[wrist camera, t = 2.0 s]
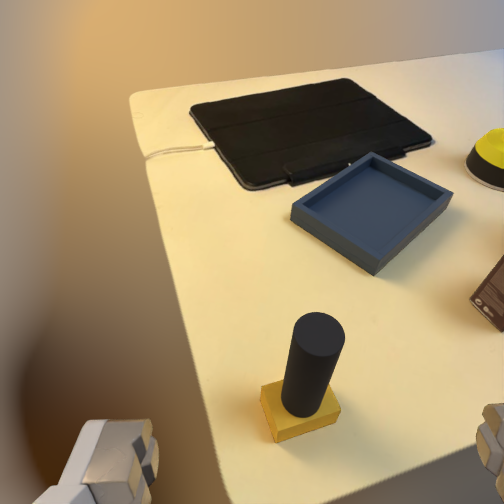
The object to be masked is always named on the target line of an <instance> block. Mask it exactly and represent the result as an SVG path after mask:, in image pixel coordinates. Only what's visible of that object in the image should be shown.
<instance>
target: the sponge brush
mask: <svg viewBox="0 0 504 504" xmlns="http://www.w3.org/2000/svg"><path fill="white" fill-rule="evenodd" d="M344 342H345V333H344V330H343V328H342V326H341V324H340V323H339V322H338V321H337V320H336V319H335V318H333V317H332V316H330V315H328V314H325V313H320V312H312V313H308V314H305V315H303V316H302V317H300V318H299V319H298V320H297V322H296V323H295V326H294V330H293V335H292V340H291V345H290V350H289V355H288V361H287V366H286V371H285V376H284V380H281V381H277V382H274V383H271V384H268V385H264V386H262V388H261V397H260V401H261V404H262V407H263V409H264V412H265V415H266V418H267V421H268V424H269V426H270V429H271V432H272V435H273V438H274V441H275V443H278V442H281V441H283V440H286V439H289V438H292V437H295V436H298V435H301V434H304V433H307V432H309V431H312V430H315V429H318V428H321V427H324V426H327V425H330V424H333V423H335V422H336V420H337V418H338V416H339V414H340V412H341V408H340V406H339V404H338V402H337V400H336V398H335V395H334V393H333V391H332V389H331V387H330V385H329V382H330V379H331V377H332V374H333V371H334V369H335V366H336V363H337V361H338V358H339V356H340V353H341V350H342V348H343V345H344Z"/></svg>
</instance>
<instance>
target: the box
mask: <svg viewBox="0 0 504 504" xmlns="http://www.w3.org/2000/svg"><path fill="white" fill-rule="evenodd" d="M469 300H470V301H471V302H472V304H473V306H474V307H476V308H477V309H478V310H479V311H480V312H481V313H482V315H484V316H485V317H486V318H487V319H488V320H489V321H490V322H491V323H492V324H493V325H494V326H495V327H496V328H497V329H499V330H500V331H501V332H503V331H504V255H503V256H502V258H501V259H500V260H499V261H498V263H497V264H496V265H495V267H494V268H493V269H492V271H491V272H490V273H489V274H488V275H487V277H486V278H485V279H484V281H483V282H482V283H481V284H480V286H479V287H478V288H477V290H476V291H475V292H474V294H473V295H472V296H471V297H470V299H469Z"/></svg>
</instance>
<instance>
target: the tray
mask: <svg viewBox="0 0 504 504" xmlns="http://www.w3.org/2000/svg"><path fill="white" fill-rule="evenodd" d="M453 194H454V193H453V192H451V191H449V190H447V189H445V188H443V187H441V186H439V185H437V184H435V183H433V182H431V181H429V180H427V179H425V178H423V177H421V176H419V175H417V174H415V173H413V172H411V171H409V170H407V169H405V168H403V167H401V166H399V165H397V164H395V163H393V162H391V161H389V160H387V159H385V158H383V157H381V156H379V155H377V154H375V153H373V152H370V153H368V154H367V155H366V156H364V157H363V158H361V159H359V160H358V161H356V162H355V163H353V164H352V165H350V166H349V167H347V168H346V169H344V170H343V171H341V172H340V173H338V174H337V175H335V176H334V177H332V178H331V179H329V180H328V181H326V182H325V183H323V184H322V185H320V186H319V187H317V188H316V189H314V190H313V191H311V192H310V193H308V194H306V195H305V196H303V197H302V198H300V199H299V200H297V201H296V202H294V203H293V204H292V210H291V217H290V220H291V221H292V222H294V223H295V224H297V225H298V226H300V227H301V228H303V229H304V230H306V231H307V232H309V233H310V234H312V235H313V236H315V237H316V238H318V239H319V240H321V241H322V242H324V243H325V244H327V245H328V246H330V247H331V248H333V249H334V250H336V251H337V252H339V253H340V254H342V255H343V256H344V257H346V258H347V259H349V260H350V261H352V262H353V263H355V264H356V265H358V266H359V267H361V268H362V269H364V270H365V271H367V272H368V273H370V274H371V275H373V276H374V275H376V274H377V273H378V272H379V271H380V270H381V269H382V268H383V267H384V266H385V265H386V264H387V263H388V262H389V261H391V260H392V259H393V258H394V257H395V256H396V255H397V254H398V253H399V252H400V251H401V250H402V249H403V248H405V247H406V246H407V245H408V244H409V243H410V242H411V241H412V240H413V239H414V238H415V237H416V236H417V235H418V234H420V233H421V232H422V231H423V230H424V229H425V228H426V227H427V226H428V225H429V224H430V223H431V222H432V221H433V220H435V219H436V218H437V217H438V216H439V215H440V214H441V213H442V212H443V211H444V210H445V209H446V208H447V206H448V204H449V202H450V200H451V198H452V196H453Z"/></svg>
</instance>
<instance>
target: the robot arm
mask: <svg viewBox="0 0 504 504" xmlns="http://www.w3.org/2000/svg"><path fill="white" fill-rule="evenodd" d="M482 415H483V417H484V419H485V422H484V423H482V424H481V425H480V426H479V427H478V429H477V433H476V443H477V449H478V452H479V455H480V458H481V460H482V462H483V464H484V466H485V468H486V469H487V470H489V471H490V472H491V473H492V474H494V475H495V476H496V477H497V481H496V486H495V488H496V489H497V491H498V493H499V495H500V497H501V499H502V501H503V503H504V403H499V404H488V405H487V406H485V407H484V410H483V413H482ZM152 428H153V427H152V424H151V421H150V419H110V420H109V419H108V420H88V421H87V422H86V423H85V425H84V426H83V427H82V430H81V432H80V434H79V437H78V439H77V441H76V444H75V446H74V448H73V450H72V453H71V455H70V457H69V460H68V462H67V465H66V467H65V469H64V471H63V474H62V476H61V478H60V481H59V483H58V485H57V486H51V487H49V489H47V490H46V491H45V492H44V493H43V494H42V495H41V496H40V497H39V498H38V499H37V500H36V501H35V502H33V503H32V504H150V502H151V495H150V492H149V489H148V487H149V486H150V485H151V484H152V483H153V482H154V480H155V479H156V475H157V470H158V460H159V451H158V444H157V440H156V439H155V438H154V437H152V436H151V433H152Z"/></svg>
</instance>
